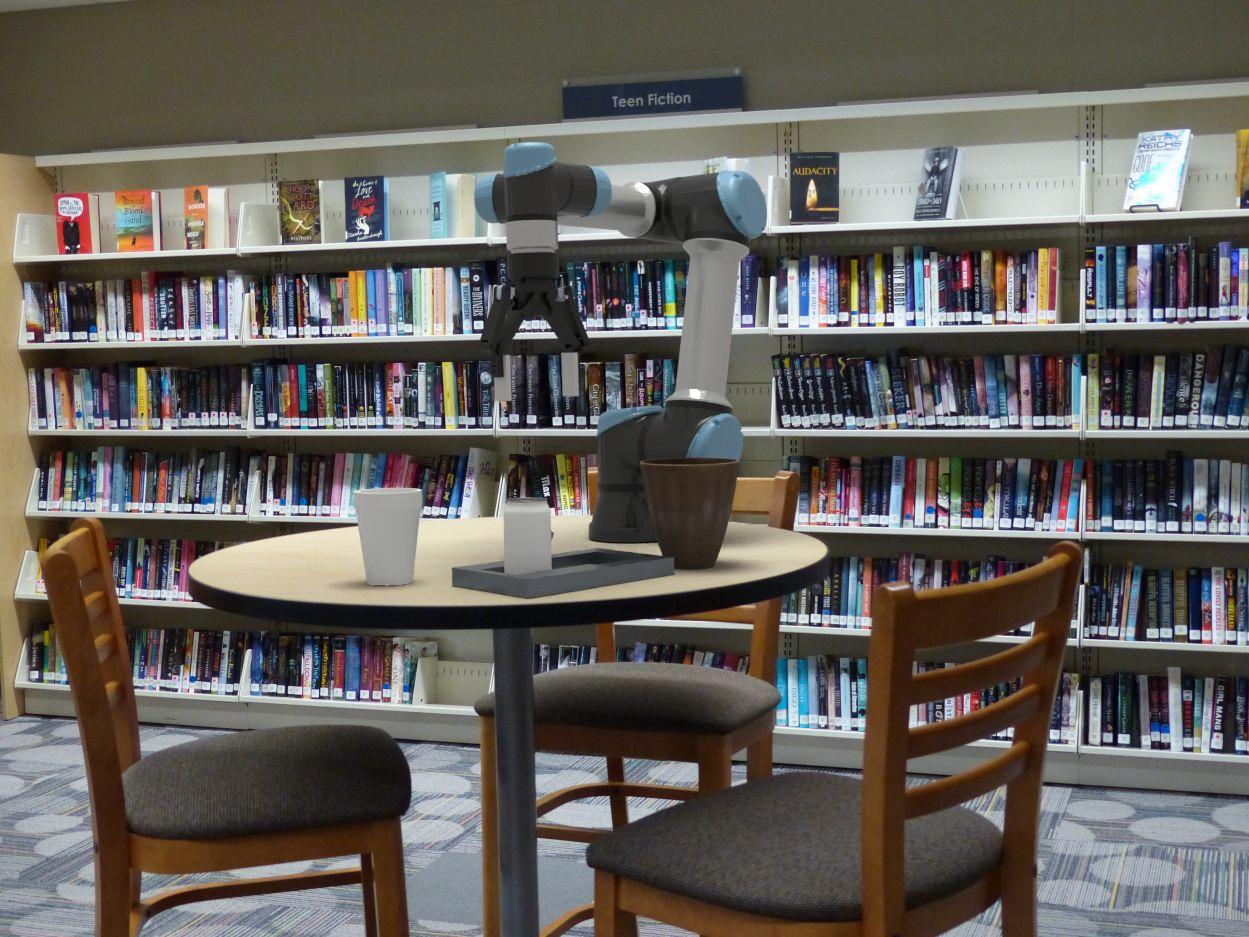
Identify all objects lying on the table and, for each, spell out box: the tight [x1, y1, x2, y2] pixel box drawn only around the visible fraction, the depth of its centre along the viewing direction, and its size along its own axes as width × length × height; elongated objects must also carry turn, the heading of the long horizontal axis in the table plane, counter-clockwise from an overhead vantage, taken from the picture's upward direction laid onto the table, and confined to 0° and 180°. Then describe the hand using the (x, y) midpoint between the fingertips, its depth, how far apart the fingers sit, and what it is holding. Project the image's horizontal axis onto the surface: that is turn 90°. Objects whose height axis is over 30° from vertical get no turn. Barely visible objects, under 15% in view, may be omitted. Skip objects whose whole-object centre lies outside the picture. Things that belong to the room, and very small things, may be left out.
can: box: [503, 497, 552, 575], centre depth 182 cm, size 6×6×12 cm
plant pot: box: [640, 458, 740, 570], centre depth 199 cm, size 15×15×16 cm
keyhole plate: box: [451, 547, 675, 599], centre depth 187 cm, size 28×16×2 cm, turn 135°
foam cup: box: [353, 487, 423, 587], centre depth 186 cm, size 10×9×13 cm
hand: (537, 398), depth 194 cm, fingers open, 13 cm apart
